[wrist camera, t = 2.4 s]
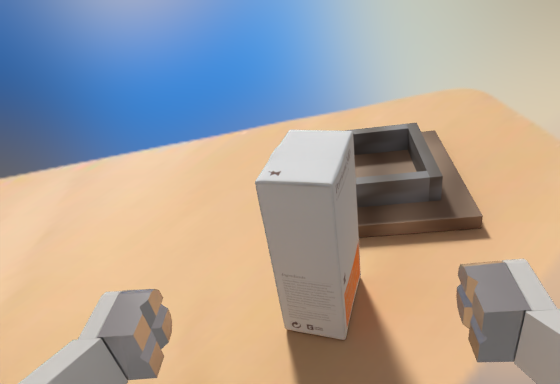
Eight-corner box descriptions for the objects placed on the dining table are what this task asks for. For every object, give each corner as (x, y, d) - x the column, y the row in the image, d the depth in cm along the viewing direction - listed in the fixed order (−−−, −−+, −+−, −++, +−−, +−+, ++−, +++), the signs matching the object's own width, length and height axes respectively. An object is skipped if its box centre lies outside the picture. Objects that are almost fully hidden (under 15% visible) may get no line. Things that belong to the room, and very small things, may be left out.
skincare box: (347, 342, 27) (332, 186, 20) (284, 331, 28) (250, 181, 21) (363, 273, 31) (354, 128, 25) (308, 267, 33) (286, 127, 26)
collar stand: (293, 242, 35) (287, 208, 33) (297, 154, 48) (293, 125, 46) (480, 228, 33) (486, 190, 31) (434, 140, 46) (436, 109, 44)
